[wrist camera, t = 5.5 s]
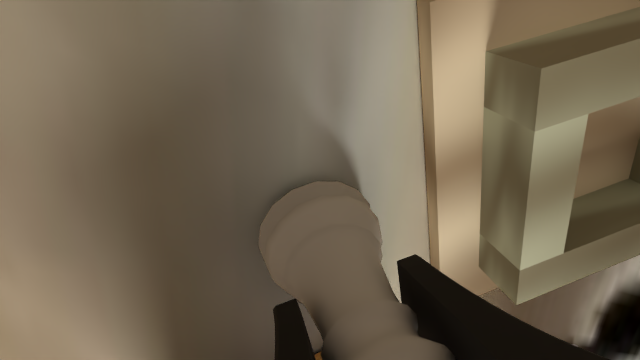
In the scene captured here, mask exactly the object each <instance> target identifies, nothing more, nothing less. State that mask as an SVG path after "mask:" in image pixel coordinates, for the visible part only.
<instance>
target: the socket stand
mask: <svg viewBox="0 0 640 360" xmlns="http://www.w3.org/2000/svg"><path fill="white" fill-rule="evenodd" d="M417 12H418V31H419V50H420V69H421V88H422V107H423V126H424V145H425V164H426V183H427V202H428V221H429V240H430V259H431V265H432V266H433V267H435V268H436V269H438V270H439V271H441V272H442V273H443V274H445V275H446V276H448V277H449V278H451V279H452V280H454V281H455V282H457V283H458V284H460V285H461V286H463V287H464V288H466V289H468V290H469V291H471V292H472V293H474V294H476V295H477V296H479V295H482V294H484V293H487V292H489V291H492V290H494V289H497V288H500V289H501V290H502V291H503V292H504V293H505V294H506V295H507V296H508V297H509V298H510V299H511V301H512V302H513V303H514V304H515V305H518V304H521V303H523V302H526V301H528V300H531V299H533V298H535V297H538V296H540V295H543V294H545V293H548V292H550V291H552V290H555V289H557V288H560V287H562V286H565V285H567V284H570V283H572V282H574V281H577V280H579V279H582V278H584V277H587V276H589V275H591V274H594V273H596V272H599V271H601V270H604V269H606V268H609V267H611V266H613V265H616V264H618V263H621V262H623V261H626V260H628V259H630V258H633V257H635V256H638V255H640V0H417Z"/></svg>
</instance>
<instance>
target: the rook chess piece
mask: <svg viewBox="0 0 640 360" xmlns="http://www.w3.org/2000/svg"><path fill="white" fill-rule="evenodd" d="M381 245H382V238H381V232H380V226H379V222H378V218H377V217H376V215H375V214H374V213H373V212H372V210H371V209H370V204H369V203H368V202H367V200H366V199H365V198H364V197H363V196H362V194H361V193H360V192H359V191H358V190H357V189H355V188H353V187H350V186H348V185H346V184H343V183H341V182H337V181H315V182H312V183H310V184H307V185H304V186H301V187H298V188H295V189H293V190H291V191H290V192H288V193H287V194H286V195H285V196H283V197H282V198H281V199H280V200H278V201H277V202H276V203H275V204H273V205H272V207H271V208H270V210H269V212H268V213H267V215H266V217H265V218H264V220H263V222H262V223H261V225H260V233H259V242H258V247H259V249H260V252H261V254H262V257H263V259H264V262H265V264H266V266H267V269H268V271H269V274H270V276H271V278H272V279H273V281H274V282H275V283H276V284H277V285H278V286H280V287H281V288H282V289H283V290H285V291H286V292H287V293H288V294H290V295H292V296H293V297H294V298H295V299H297V300H298V301H299V302H300V303H303V304H304V305H305V307H306V309H307V311H308V312H309V314H310V316H311V318H312V319H313V321H314V323H315V325H316V326H317V328H318V330H319V332H320V333H321V336H322V339H323V341H324V342H323V347H322V351H321V357H322V360H455V356H454V355H453V353H452V352H451V351H450V350H449V349H448V348H447V347H446V346H445V345H442V344H439V343H436V342H433V341H431V340H428V339H425V338H422V337H419V335H418V333H417V330H418V323H417V316H416V314H415V313H414V312H413V310H412V309H411V308H410V307H409V306H408V305H405V304H402V303H400V302H399V301H398V299H397V297H396V296H395V294H394V293H393V291H392V288H391V286H390V284H389V281H388V279H387V277H386V274H385V272H384V270H383V267H382V265H381V260H382V252H381Z"/></svg>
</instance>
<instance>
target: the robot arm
mask: <svg viewBox="0 0 640 360" xmlns="http://www.w3.org/2000/svg"><path fill="white" fill-rule="evenodd" d="M397 266H398V274H399V283H400V292H401V301H402V304H405V305H408V306H409V307H410V308H411V309H412V310H413V312H414V313H415V314H416V316H417V323H418V330H417V333H418V335H419V337H422V338H425V339H428V340H431V341H433V342H436V343H439V344H442V345H445V346H446V347H447V348H448V349H449V350H450V351H451V352H452V353H453V355H454V356H455V360H609V359H607V358H604V357H602V356H599V355H597V354H594V353H592V352H589V351H587V350H584V349H582V348H579V347H578V346H577V345H576V344H569V343H567V342H565V341H563V340H560V339H558V338H556V337H554V336H551V335H549V334H547V333H545V332H543V331H541V330H539V329H537V328H535V327H533V326H531V325H529V324H527V323H525V322H523V321H521V320H519V319H517V318H515V317H513V316H512V315H510V314H508V313H506V312H504V311H503V310H501V309H499V308H497V307H495V306H494V305H492V304H490V303H489V302H487V301H485V300H484V299H482V298H480V297H479V296H477V295H476V294H474V293H472V292H471V291H469V290H468V289H466V288H464V287H463V286H461V285H460V284H458V283H457V282H455V281H454V280H452V279H451V278H449V277H448V276H446V275H445V274H443V273H442V272H441V271H439V270H438V269H436V268H435V267H433V266H432V265H431V264H429V263H428V262H426V261H425V260H423V259H422V258H421V257H419V256H418V255H416V254H415V255H412V256H410V257H407V258H404V259H401V260H399V261H397ZM273 313H274V321H275V360H316V359H315V355H314V352H313V349H312V346H311V342H310V339H309V336H308V333H307V330H306V326H305V323H304V320H303V317H302V314H301V311H300V308H299V305H298V303H297V300H296V299H293V300H290V301H287V302H285V303H282V304H279V305H277V306H275V308H274V309H273Z"/></svg>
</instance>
